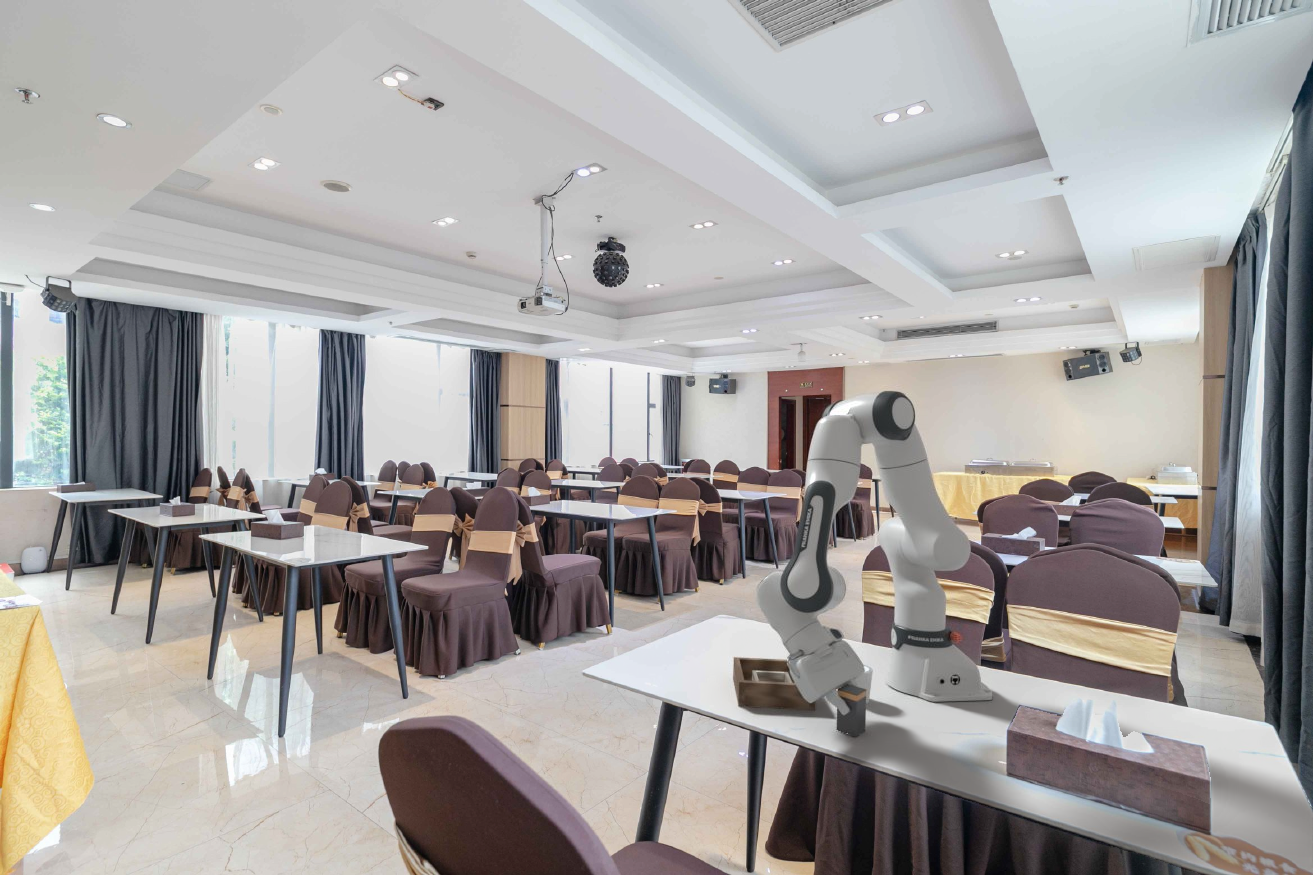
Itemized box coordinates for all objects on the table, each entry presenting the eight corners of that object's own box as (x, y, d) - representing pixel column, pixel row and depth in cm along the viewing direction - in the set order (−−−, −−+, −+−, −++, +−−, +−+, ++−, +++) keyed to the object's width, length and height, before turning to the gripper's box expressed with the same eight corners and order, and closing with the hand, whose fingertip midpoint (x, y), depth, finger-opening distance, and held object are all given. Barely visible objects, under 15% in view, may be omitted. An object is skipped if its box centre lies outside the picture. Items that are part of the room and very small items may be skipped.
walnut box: (801, 681, 148) (802, 660, 148) (815, 710, 132) (816, 685, 132) (733, 678, 148) (733, 657, 148) (738, 705, 132) (739, 682, 133)
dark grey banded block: (845, 724, 125) (847, 683, 125) (865, 730, 122) (866, 689, 123) (836, 730, 122) (837, 688, 122) (856, 737, 120) (857, 694, 120)
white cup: (872, 696, 140) (872, 664, 140) (871, 707, 134) (872, 674, 134) (839, 691, 142) (840, 660, 143) (838, 702, 136) (839, 670, 136)
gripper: (793, 648, 120) (840, 716, 113) (843, 628, 135) (887, 687, 128) (773, 665, 123) (817, 733, 116) (824, 644, 138) (866, 702, 131)
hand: (854, 708), depth 122 cm, fingers closed on dark grey banded block, 4 cm apart
